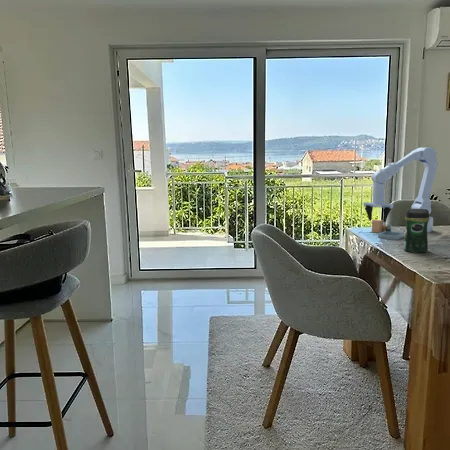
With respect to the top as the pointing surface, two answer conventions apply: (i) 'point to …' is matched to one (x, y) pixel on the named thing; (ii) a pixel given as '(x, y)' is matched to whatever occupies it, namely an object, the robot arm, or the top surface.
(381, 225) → the block
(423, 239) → the coffee jar
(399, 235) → the tray
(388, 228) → the crank
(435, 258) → the top surface
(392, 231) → the plate
